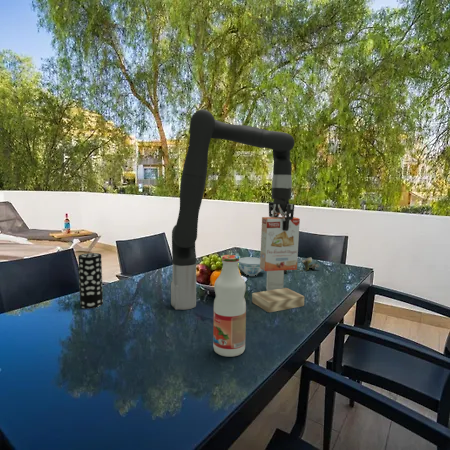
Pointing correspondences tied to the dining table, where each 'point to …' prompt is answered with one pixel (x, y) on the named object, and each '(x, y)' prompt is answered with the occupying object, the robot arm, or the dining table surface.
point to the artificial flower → (307, 264)
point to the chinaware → (250, 265)
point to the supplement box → (275, 280)
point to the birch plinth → (277, 299)
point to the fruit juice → (229, 309)
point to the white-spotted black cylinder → (90, 280)
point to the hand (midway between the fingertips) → (280, 229)
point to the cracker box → (279, 244)
